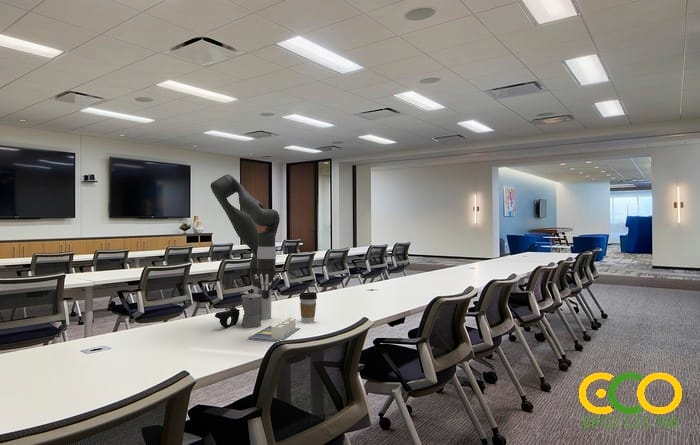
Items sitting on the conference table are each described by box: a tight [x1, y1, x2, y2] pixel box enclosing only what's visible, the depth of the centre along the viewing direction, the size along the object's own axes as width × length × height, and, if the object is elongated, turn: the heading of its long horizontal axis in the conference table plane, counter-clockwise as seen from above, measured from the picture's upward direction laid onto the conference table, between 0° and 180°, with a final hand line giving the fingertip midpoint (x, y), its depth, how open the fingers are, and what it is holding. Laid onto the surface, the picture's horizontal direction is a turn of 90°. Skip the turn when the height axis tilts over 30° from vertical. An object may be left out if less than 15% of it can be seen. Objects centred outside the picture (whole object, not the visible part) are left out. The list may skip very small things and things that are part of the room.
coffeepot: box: [241, 288, 262, 329], centre depth 203 cm, size 15×9×18 cm, turn 8°
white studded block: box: [283, 316, 297, 331], centre depth 194 cm, size 4×4×6 cm
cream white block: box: [277, 319, 290, 335], centre depth 188 cm, size 4×4×6 cm
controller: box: [214, 304, 241, 329], centre depth 202 cm, size 4×12×10 cm, turn 145°
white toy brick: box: [271, 323, 285, 339], centre depth 182 cm, size 4×4×6 cm
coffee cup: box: [299, 291, 318, 324], centre depth 213 cm, size 8×8×15 cm
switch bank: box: [246, 325, 301, 343], centre depth 189 cm, size 14×24×2 cm, turn 167°
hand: (265, 299), depth 184 cm, fingers closed
